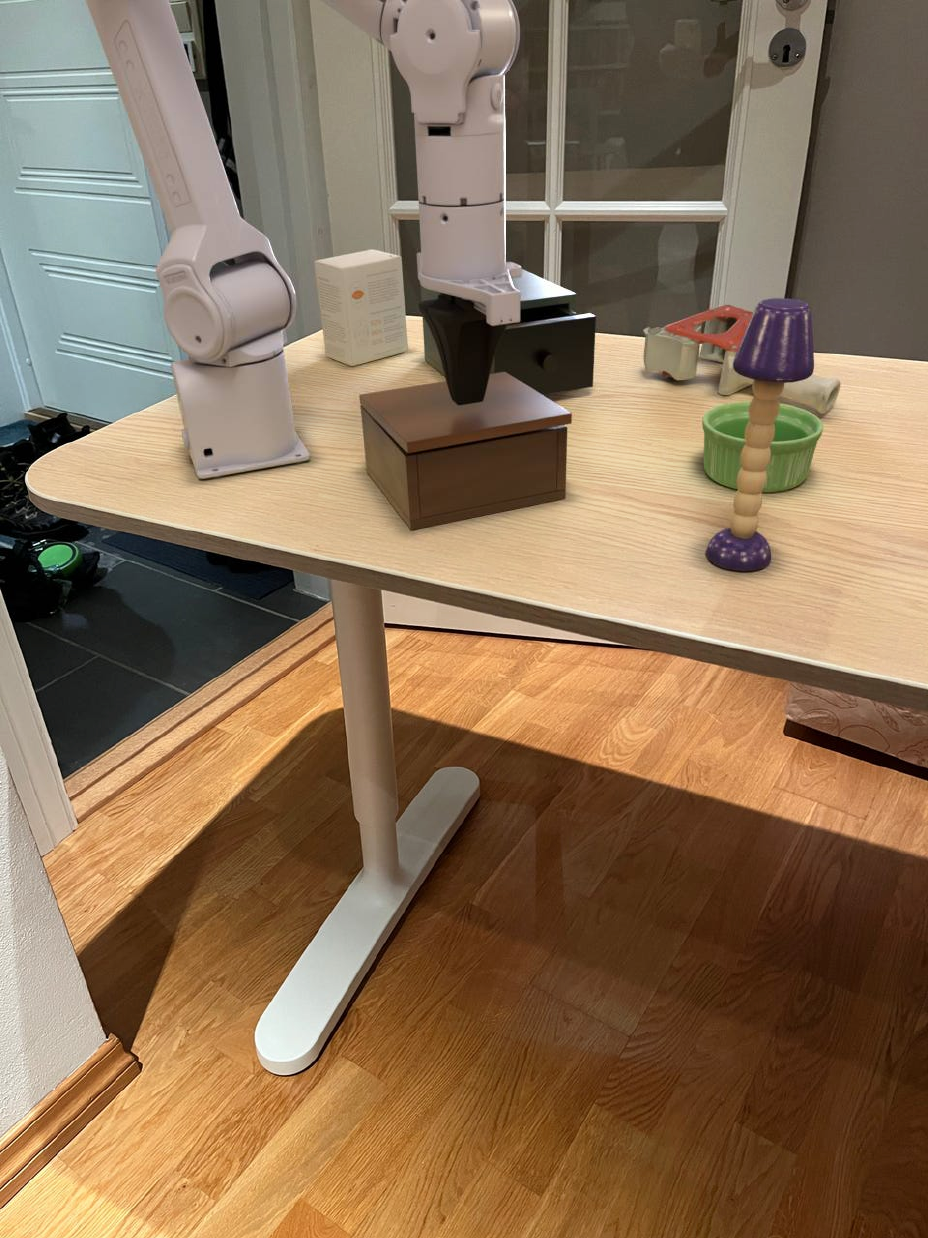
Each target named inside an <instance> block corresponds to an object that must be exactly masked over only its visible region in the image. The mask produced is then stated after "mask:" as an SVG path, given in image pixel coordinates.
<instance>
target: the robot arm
mask: <svg viewBox="0 0 928 1238" xmlns="http://www.w3.org/2000/svg"><path fill="white" fill-rule="evenodd" d="M321 1H322V2H323V3H325V5H327V6H328V7H330V8H331V9H333V10H334V11H335V12H337V13H338V14H339V15H340V16H342V17H343V18H345V19H346V20H347V21H349V22H350V23H352V25H354V26H356V27H357V28H358V29H360V30H361V31H363V32H364V33H365V34H367V35H368V36H369V37H370V38H372V39H373V40H375V41H376V42H378V44H380V45H382V46H383V47H384V48H385V49H387V50H389V51H390V52H391V55H392V58H393V61H394V63H395V66H396V68H397V70H398V71H399V73H400V75H401V77H402V78H403V80H405V82H406V84H407V87H408V89H409V94H410V106H411V107H410V108H411V113H412V114H413V120H414V121H413V122H414V139H415V140H414V141H415V158H416V159H415V160H416V176H417V177H416V178H417V179H416V180H417V195H418V197H417V199H418V218H419V219H418V221H419V237H420V238H419V239H420V252H417V253H416V266H417V279H418V280H419V284H421V285H420V287H421V286H422V287H424V288H426V289H429V290H432V291H436V292H440V295H438V299H434V300H427V301H422V300H421V301H420V302H419V303H418V310H419V312H420V314H421V315H423V317H424V319H425V320H426V322H427V324H428V326H429V328H430V330H431V333H432V335H433V337H434V340H435V342H436V345H437V348H438V351H439V355H440V358H441V362H442V366H443V370H444V374H445V376H444V378H445V381H446V382H447V386H448V389H449V393H450V396H451V398H452V400H453V401H454V402H455V403H456V404H457V405H466V404H472V403H478V402H483V401H484V397H485V393H486V389H487V385H488V380H489V376H490V371H491V366H492V362H493V359H494V355H495V352H496V349H497V346H498V344H499V341H500V339H501V337H502V334H503V332H504V330H505V329H506V327H507V325H508V324H509V323H517V322H520V291H519V290H517V289H515V288H514V286H513V284H512V280H511V278H517V277H520V276H521V269H522V266H521V265H520V264H518V263H515V262H512V261H507V259H506V258H507V257H506V252H507V251H506V249H507V248H506V244H507V243H506V242H507V241H506V232H507V231H506V111H505V110H506V106H505V104H506V102H505V101H506V100H505V99H506V98H505V96H506V93H505V92H506V89H505V87H506V86H505V84H506V83H505V82H506V81H505V80H506V79H505V78H506V77H505V75H506V73H507V72H508V71H510V68H511V67H512V65H513V64H514V62H515V59H516V57H517V54H518V50H519V46H520V40H521V25H520V19H519V15H518V11H517V9H516V6H515V4H514V2H513V0H321ZM85 2H86V5H87V8H88V10H89V14H90V16H91V19H92V21H93V25H94V27H95V30H96V33H97V35H98V37H99V40H100V43H101V46H102V49H103V51H104V55H105V58H106V60H107V63H108V65H109V69H110V70H111V74H112V76H113V79H114V82H115V84H116V86H117V90H118V93H119V96H120V98H121V101H122V104H123V106H124V109H125V112H126V115H127V117H128V120H129V123H130V125H131V128H132V132H133V135H134V137H135V139H136V142H137V145H138V147H139V151H140V153H141V156H142V158H143V161H144V164H145V167H146V169H147V172H148V175H149V178H150V180H151V183H152V185H153V189H154V191H155V193H156V197H157V199H158V202H159V205H160V208H161V210H162V214H163V217H164V219H165V221H166V224H167V227H168V230H169V232H170V235H171V236H170V240H169V242H168V244H167V246H166V248H165V249H164V252H163V253H162V255H161V258H160V259H159V261H158V263H157V265H156V268H155V274H156V277H157V280H158V282H159V286H160V288H161V292H162V298H163V315H164V316H163V317H164V320H165V321H164V322H165V324H166V327H167V330H168V332H169V334H170V336H171V338H172V340H173V341H174V342H175V344H176V345H177V346H178V348H179V349H180V350H181V351H182V352H183V353H184V354H185V355H187V358H185V359H182V360H176V361H172V362H171V363H170V368H171V373H172V374H171V375H172V379H173V384H174V389H175V393H176V394H175V395H176V398H177V403H178V408H179V412H180V417H181V422H182V427H183V428H182V429H181V430H180V431H181V437H182V441H183V445H184V449H185V451H188V453H189V456H190V459H191V461H192V464H193V467H194V470H195V473H196V476H197V478H198V479H200V480H204V479H210V478H215V477H216V478H217V477H223V476H227V475H231V474H232V475H234V474H239V473H244V472H250V471H255V470H261V469H267V468H272V467H279V466H285V465H291V464H295V463H301V462H306V461H309V460H310V459H311V455H310V452H309V451H308V450H307V448H306V446H305V445H304V443H303V442H302V440H301V439H300V437H299V436H298V434H297V433H296V426H295V418H294V412H293V406H292V398H291V397H292V396H291V391H290V384H289V377H288V370H287V364H286V355H285V350H284V345H285V344H287V343H288V337H287V329H288V328H289V327H290V326H291V325H292V323H293V322H294V319H295V317H296V312H297V296H296V291H295V289H294V285H293V282H292V281H291V279H290V277H289V276H288V274H287V272H286V271H285V269H284V268H283V267H282V266H281V264H280V263H279V262H278V260H277V258H276V256H275V254H274V252H273V248H272V246H271V243H270V240H269V238H268V237H267V236H266V235H264V234H263V233H262V232H261V231H260V230H258V229H257V228H256V227H254V226H253V225H252V224H250V223H248V222H247V221H246V220H244V218H243V217H241V215H240V212H239V209H238V206H237V203H236V199H235V197H234V193H233V191H232V188H231V184H230V182H229V179H228V176H227V173H226V170H225V166H224V163H223V160H222V158H221V155H220V152H219V148H218V145H217V142H216V139H215V136H214V133H213V130H212V127H211V124H210V120H209V118H208V115H207V112H206V108H205V106H204V103H203V100H202V97H201V94H200V91H199V88H198V85H197V82H196V78H195V76H194V73H193V70H192V67H191V64H190V61H189V58H188V55H187V51H186V49H185V45H184V42H183V40H182V36H181V34H180V31H179V28H178V25H177V22H176V19H175V15H174V13H173V10H172V6H171V4H170V1H169V0H85ZM218 263H222V264H224V265H226V266H225V267H221V268H218V269H216V270H212V268H213V266H215V265H216V264H218ZM211 270H212V271H211ZM423 317H422V318H423Z"/></svg>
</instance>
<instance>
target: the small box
mask: <svg viewBox="0 0 928 1238" xmlns="http://www.w3.org/2000/svg"><path fill="white" fill-rule="evenodd" d="M402 261H403V260H402V256H401V255H397V254H394V253H389V252H386V251H382V250H377V249H372V248H371V249H367V250H362V251H357V252H352V253H348V254H342V255H337V256H332V257H327V258H322V259H318V260H314V270H315V272H314V273H315V278H316V286H317V295H318V304H319V311H320V321H321V328H322V336H323V343H324V351H325V352H324V353H325V356H326V357H327V358H329V359H332V360H335V361H337V362H340V363H342V364H345V365H347V366H350V367H355V366H359V365H363V364H366V363H370V362H373V361H377V360H380V359H384V358H389V357H392V356H395V355H398V354H402V353H405V352H408V351H409V344H408V343H409V342H408V329H407V317H406V316H407V314H406V302H405V301H406V300H405V289H404V273H403V262H402Z"/></svg>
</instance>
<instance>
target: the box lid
mask: <svg viewBox="0 0 928 1238" xmlns="http://www.w3.org/2000/svg"><path fill="white" fill-rule="evenodd" d="M358 398H359V405H361V406H362V407H363V408H364V409H365V410H366V411H367V412H368V413H369V414H370V415H371V416H372V417H373V418H374V419H375V420H376V421H377V422H378V423H379V424H380V425H381V426H382V427H383V428H384V429H385V430H386V431H387V432H388V433H389V434H390V435H391V436H392V437H393V438H394V439H395V441H396V442H397V443H398V444H399V445H400V446H401V447H402V448H403V449H404V450H405V451H406V452H407V453H411V452H417V451H422V450H428V449H434V448H439V447H445V446H450V445H456V444H461V443H467V442H472V441H478V440H483V439H489V438H495V437H500V436H506V435H511V434H517V433H522V432H528V431H533V430H539V429H544V428H550V427H556V426H561V425H565V426H567V425H571V424H572V421H573V417H572V416H573V413H572V412H571V411H569V410H567V409H566V408H564V407H562V406H561V405H559V404H557V403H556V402H554V401H553V400H552V399H550V398H548V397H546V395H542V394H540V393H538V392H537V391H535V390H533V389H532V388H530V387H529V386H527V385H525V384H524V383H522V382H521V381H519V380H517V379H516V378H514V377H513V376H511V375H509V374H508V373H506V372H500V373H494V374H490V376H489V380H488V385H487V389H486V393H485V397H484V401H483V402H478V403H472V404H466V405H457V404H456V403H455V402H454V401H453V400H452V398H451V396H450V393H449V389H448V386H447V382H446V380H445V381H437V382H430V383H425V384H418V385H412V386H406V387H400V388H393V389H387V390H381V391H374V392H368V393H362V394H359V397H358Z"/></svg>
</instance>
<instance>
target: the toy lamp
mask: <svg viewBox="0 0 928 1238" xmlns="http://www.w3.org/2000/svg"><path fill="white" fill-rule="evenodd" d="M752 312H753V315H752V317H751V319H750V322H749V324H748V326H747V329H746V331H745V333H744V336H743V338H742V340H741V343H740V345H739V348H738V350H737V353H736V355H735V358H734V361H733V369H734V370H735V372H737V373H738V374H739V375H742V376H744V377H747V378H750V379H754V381H753V384H752V393H753V397H752V399H751V400H750V401H751V403H750V405H749V417H750V421H749V422H748V424H747V426H746V430H745V441H746V444H745V446H744V447H743V449H742V452H741V464H742V468H741V469H740V471H739V473H738V477H737V486H738V489H736V490H737V491H736V492H735V494H734V497H733V510H734V511H733V512H732V515H731V516H730V521H729V527H727V528H724V529H722V530H720V531H718V532H716V533H715V534H714V536H713V537H712V538H711V539H710V541H709V542H708V544H707V547H706V550H705V555H706V557H707V559H708V560H709V561H710V562H711V563H712V564H714V565H716V566H717V567H721V568H723V569H725V570H732V571H738V572H754V571H759V570H761V569H765V568H766V567H767V566H769V565H770V564H771V562H772V550H771V546H770V544H769V542H768V540H767V539H766V538H765V536H764V535H762V533H760V532H759V531H757V529H758V526H759V516H758V513H759V511H760V510H761V508H762V505H763V494H762V493H763V492H761V491H762V490H763V488H764V487H765V484H766V480H767V474H766V470H765V469H766V467H767V466H768V464H769V462H770V457H771V450H770V444H771V443H772V441H773V439H774V435H775V426H774V421H775V420H776V418H777V416H778V413H779V408H780V404H781V403H780V400H779V398H780V397H781V396H780V395H781V394H782V391H783V388H784V383H788V382H790V383H792V382H797V381H801V380H805V379H807V378H809V377H810V376H811V375H812V374H814V370H815V353H814V335H813V323H812V322H813V321H812V319H813V317H812V309H811V307H810V305H809V304H808V303H807V302H805V301H802V300H799V299H793V298H784V297H782V298H781V297H777V298H776V297H775V298H765V299H762V300H761V301H759V302H758V303H757V305H756V306H755V308H754V311H752ZM779 403H780V404H779Z"/></svg>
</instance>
